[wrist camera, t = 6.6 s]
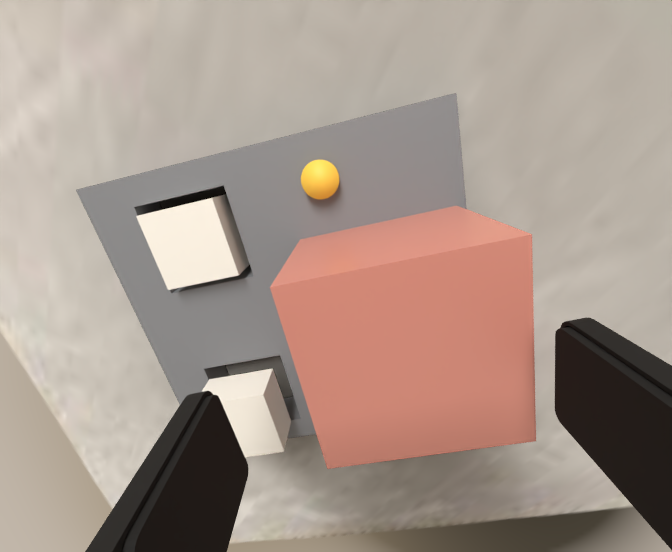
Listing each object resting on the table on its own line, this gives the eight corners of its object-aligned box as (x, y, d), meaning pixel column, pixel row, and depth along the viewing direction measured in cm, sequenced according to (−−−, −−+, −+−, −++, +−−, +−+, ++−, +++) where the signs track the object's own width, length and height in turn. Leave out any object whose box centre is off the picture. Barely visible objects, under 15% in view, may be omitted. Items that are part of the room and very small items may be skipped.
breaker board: (442, 102, 14) (461, 89, 12) (470, 385, 19) (488, 417, 17) (107, 186, 16) (64, 190, 14) (215, 425, 21) (197, 459, 19)
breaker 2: (272, 368, 16) (263, 394, 15) (291, 421, 18) (284, 451, 16) (209, 379, 17) (191, 406, 15) (231, 430, 18) (217, 461, 16)
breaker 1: (228, 193, 15) (212, 197, 13) (251, 262, 16) (239, 275, 15) (161, 209, 16) (136, 216, 14) (188, 276, 17) (168, 289, 15)
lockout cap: (456, 205, 14) (531, 234, 8) (470, 344, 16) (535, 441, 10) (300, 239, 15) (269, 287, 9) (334, 366, 17) (327, 468, 11)
